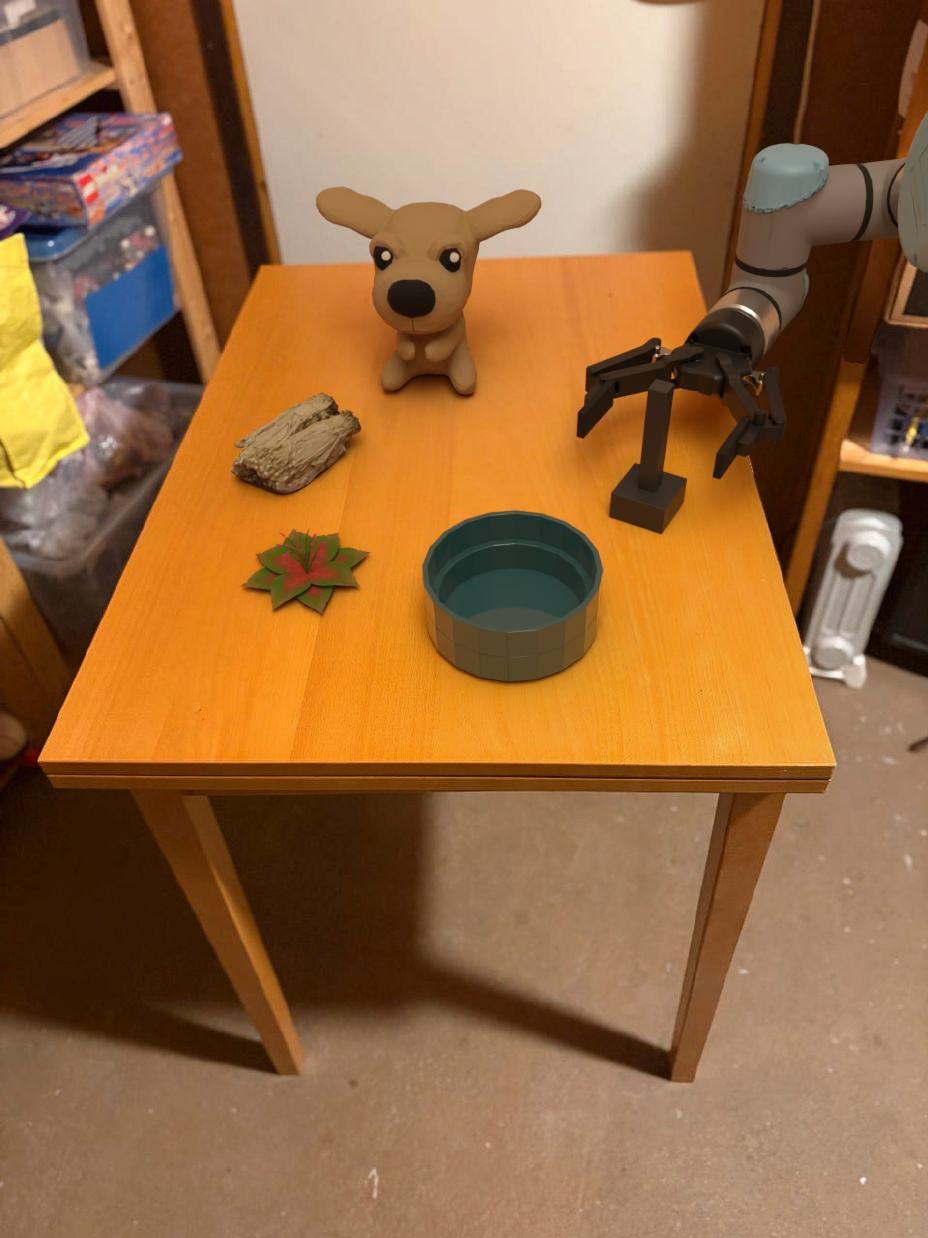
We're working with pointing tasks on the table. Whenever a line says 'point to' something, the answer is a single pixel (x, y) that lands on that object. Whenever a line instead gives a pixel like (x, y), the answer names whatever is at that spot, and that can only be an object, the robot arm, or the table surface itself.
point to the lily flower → (306, 569)
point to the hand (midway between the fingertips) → (647, 445)
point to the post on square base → (651, 471)
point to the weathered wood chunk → (295, 445)
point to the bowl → (512, 594)
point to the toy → (426, 273)
